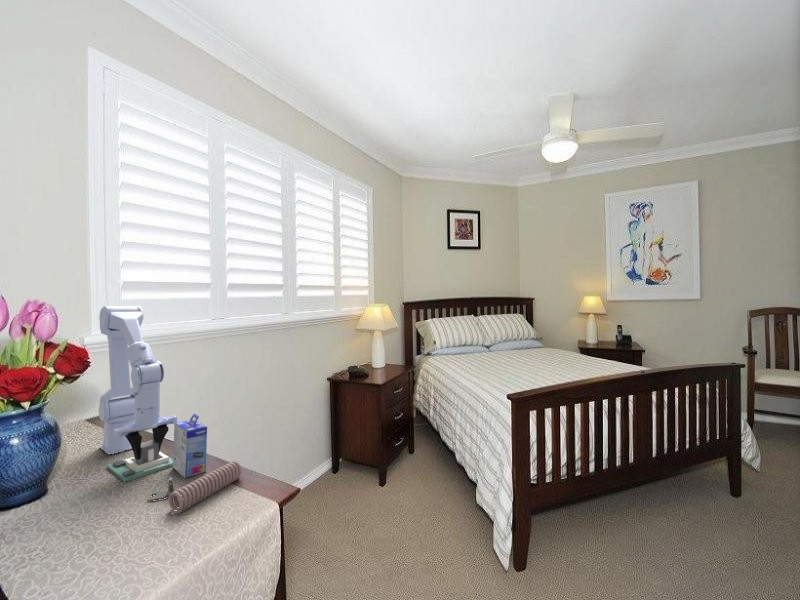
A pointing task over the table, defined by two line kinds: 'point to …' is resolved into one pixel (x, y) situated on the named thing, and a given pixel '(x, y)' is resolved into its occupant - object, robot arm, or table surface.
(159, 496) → the strap clip
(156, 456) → the plug
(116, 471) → the board
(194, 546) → the table surface
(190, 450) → the ink cartridge box
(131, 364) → the robot arm
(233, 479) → the coil
